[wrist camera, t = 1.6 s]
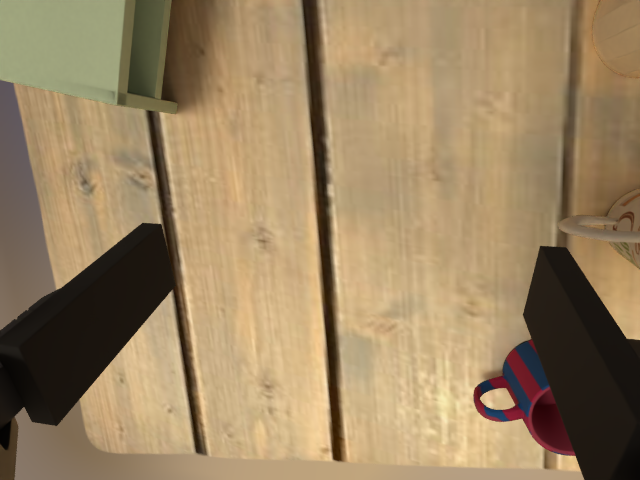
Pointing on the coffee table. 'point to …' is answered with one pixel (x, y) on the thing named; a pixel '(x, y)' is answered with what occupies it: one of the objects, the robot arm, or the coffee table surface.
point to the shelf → (88, 49)
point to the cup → (528, 399)
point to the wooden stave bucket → (618, 35)
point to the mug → (612, 226)
